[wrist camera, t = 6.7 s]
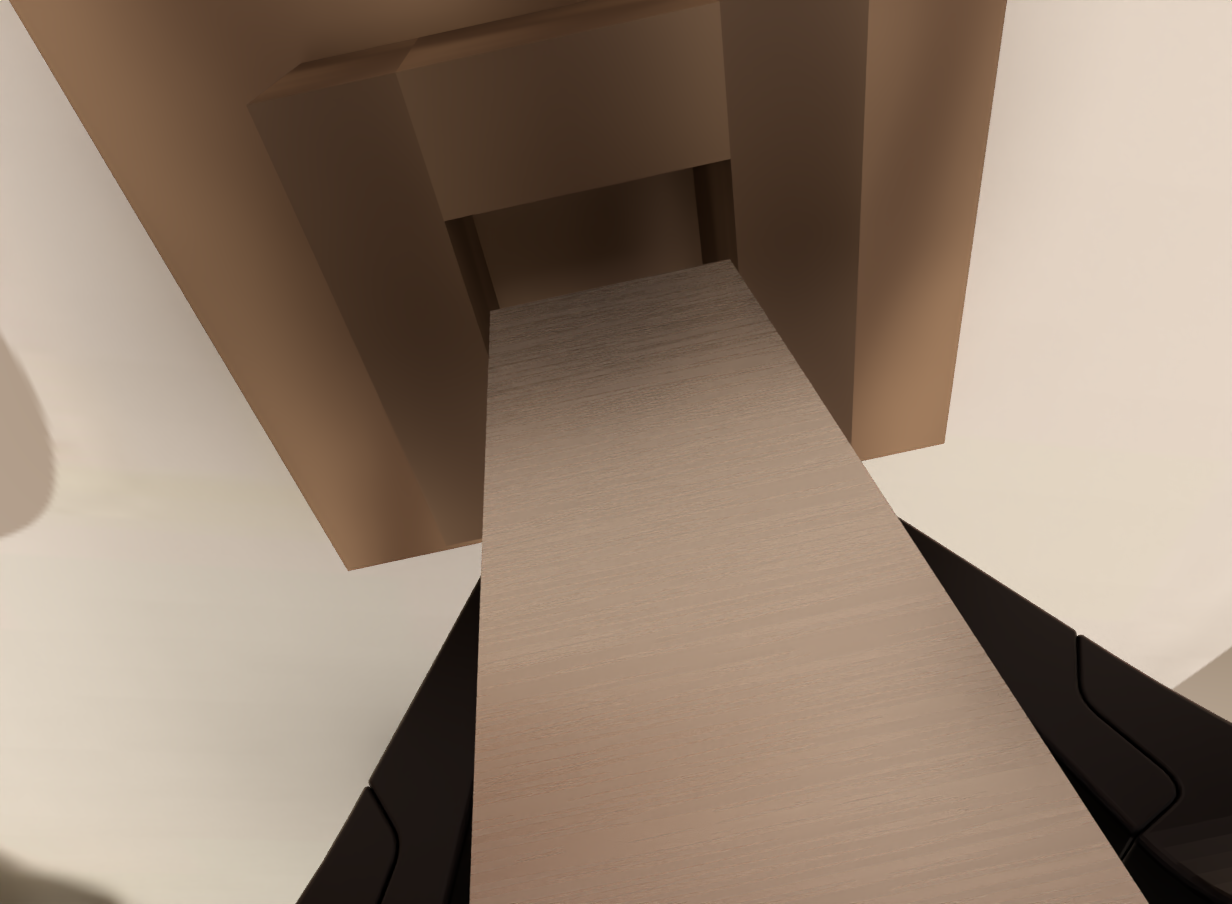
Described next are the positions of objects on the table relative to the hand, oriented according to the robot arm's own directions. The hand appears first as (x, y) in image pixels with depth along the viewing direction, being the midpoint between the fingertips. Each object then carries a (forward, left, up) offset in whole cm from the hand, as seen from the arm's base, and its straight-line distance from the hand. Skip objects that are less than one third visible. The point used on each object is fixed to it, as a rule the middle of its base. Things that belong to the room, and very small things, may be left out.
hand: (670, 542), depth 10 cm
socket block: (0, 0, -12) cm, 12 cm away
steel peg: (0, 0, -4) cm, 4 cm away
